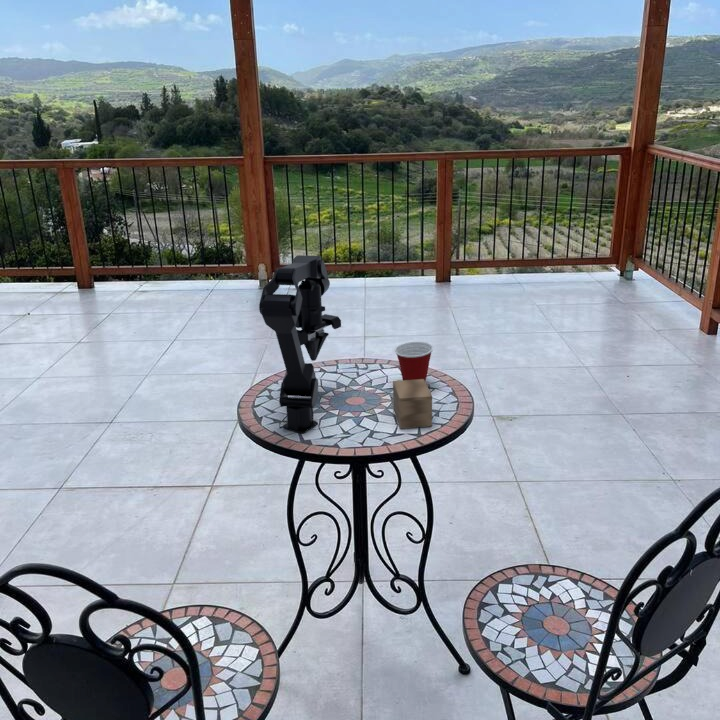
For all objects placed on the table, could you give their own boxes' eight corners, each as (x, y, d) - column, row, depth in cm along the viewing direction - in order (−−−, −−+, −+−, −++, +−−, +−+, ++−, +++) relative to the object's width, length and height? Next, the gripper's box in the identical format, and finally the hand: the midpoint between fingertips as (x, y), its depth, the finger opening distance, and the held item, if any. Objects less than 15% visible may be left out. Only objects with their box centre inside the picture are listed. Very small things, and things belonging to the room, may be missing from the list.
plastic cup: (388, 383, 195) (387, 344, 191) (422, 377, 198) (422, 338, 194) (404, 397, 185) (404, 356, 181) (439, 390, 189) (440, 350, 185)
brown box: (399, 428, 168) (399, 398, 165) (393, 409, 178) (393, 381, 175) (431, 426, 168) (432, 396, 165) (423, 407, 179) (423, 379, 176)
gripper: (308, 291, 186) (311, 344, 192) (262, 308, 172) (267, 365, 177) (341, 296, 180) (343, 351, 186) (296, 315, 166) (300, 373, 172)
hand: (313, 360), depth 180 cm, fingers closed
